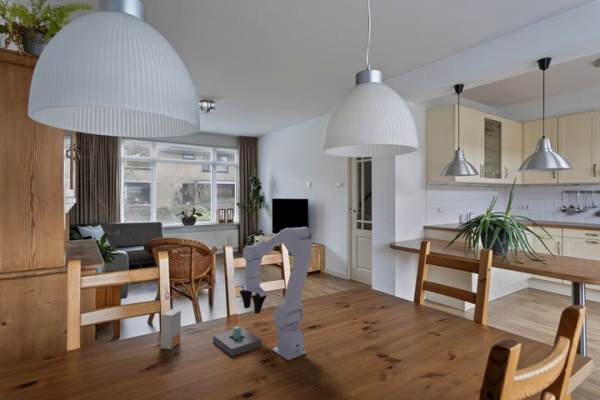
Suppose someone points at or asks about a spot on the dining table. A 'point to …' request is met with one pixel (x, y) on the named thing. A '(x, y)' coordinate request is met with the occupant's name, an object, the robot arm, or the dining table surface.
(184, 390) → the dining table surface
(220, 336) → the peg block
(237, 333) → the peg
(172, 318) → the skincare box
